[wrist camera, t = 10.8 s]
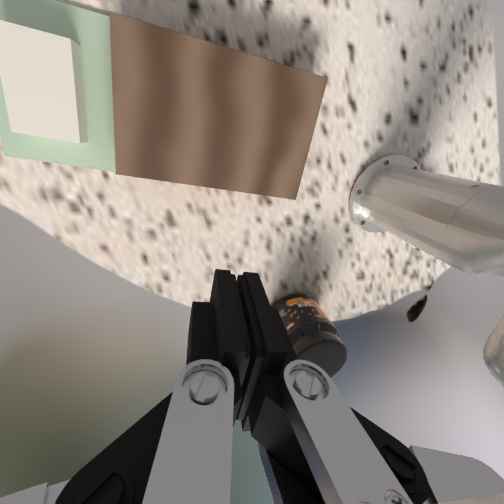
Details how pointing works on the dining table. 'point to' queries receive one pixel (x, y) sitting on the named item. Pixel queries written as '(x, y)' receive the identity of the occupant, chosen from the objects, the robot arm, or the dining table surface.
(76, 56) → the white rectangular block
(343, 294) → the dining table surface
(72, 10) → the mat
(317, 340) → the supplement container
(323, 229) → the dining table surface
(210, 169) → the deck
